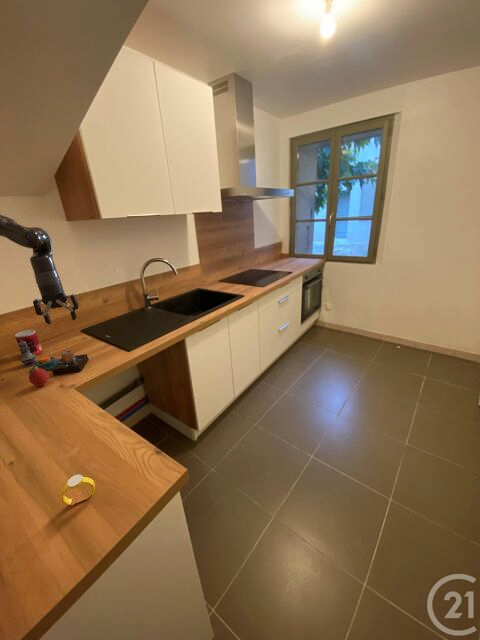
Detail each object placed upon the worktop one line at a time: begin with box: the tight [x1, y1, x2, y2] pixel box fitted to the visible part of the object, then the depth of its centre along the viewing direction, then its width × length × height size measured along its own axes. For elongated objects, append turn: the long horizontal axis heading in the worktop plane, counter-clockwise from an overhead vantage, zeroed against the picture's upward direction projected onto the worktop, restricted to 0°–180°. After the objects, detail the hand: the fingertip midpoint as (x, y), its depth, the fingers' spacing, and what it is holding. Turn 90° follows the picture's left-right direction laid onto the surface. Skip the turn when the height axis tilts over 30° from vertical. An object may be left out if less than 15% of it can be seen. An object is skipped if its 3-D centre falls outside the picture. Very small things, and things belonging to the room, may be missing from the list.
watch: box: [60, 474, 96, 506], centre depth 55 cm, size 6×3×6 cm, turn 117°
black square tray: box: [51, 353, 89, 377], centre depth 109 cm, size 10×10×3 cm
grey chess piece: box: [17, 340, 39, 368], centre depth 112 cm, size 6×6×12 cm
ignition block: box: [28, 356, 61, 375], centre depth 111 cm, size 10×8×3 cm
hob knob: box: [60, 348, 76, 364], centre depth 108 cm, size 4×4×5 cm
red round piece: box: [28, 367, 50, 387], centre depth 97 cm, size 6×6×8 cm
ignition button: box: [38, 355, 51, 363], centre depth 110 cm, size 4×4×2 cm
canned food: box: [14, 329, 43, 357], centre depth 122 cm, size 8×8×11 cm
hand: (62, 321), depth 106 cm, fingers open, 8 cm apart
